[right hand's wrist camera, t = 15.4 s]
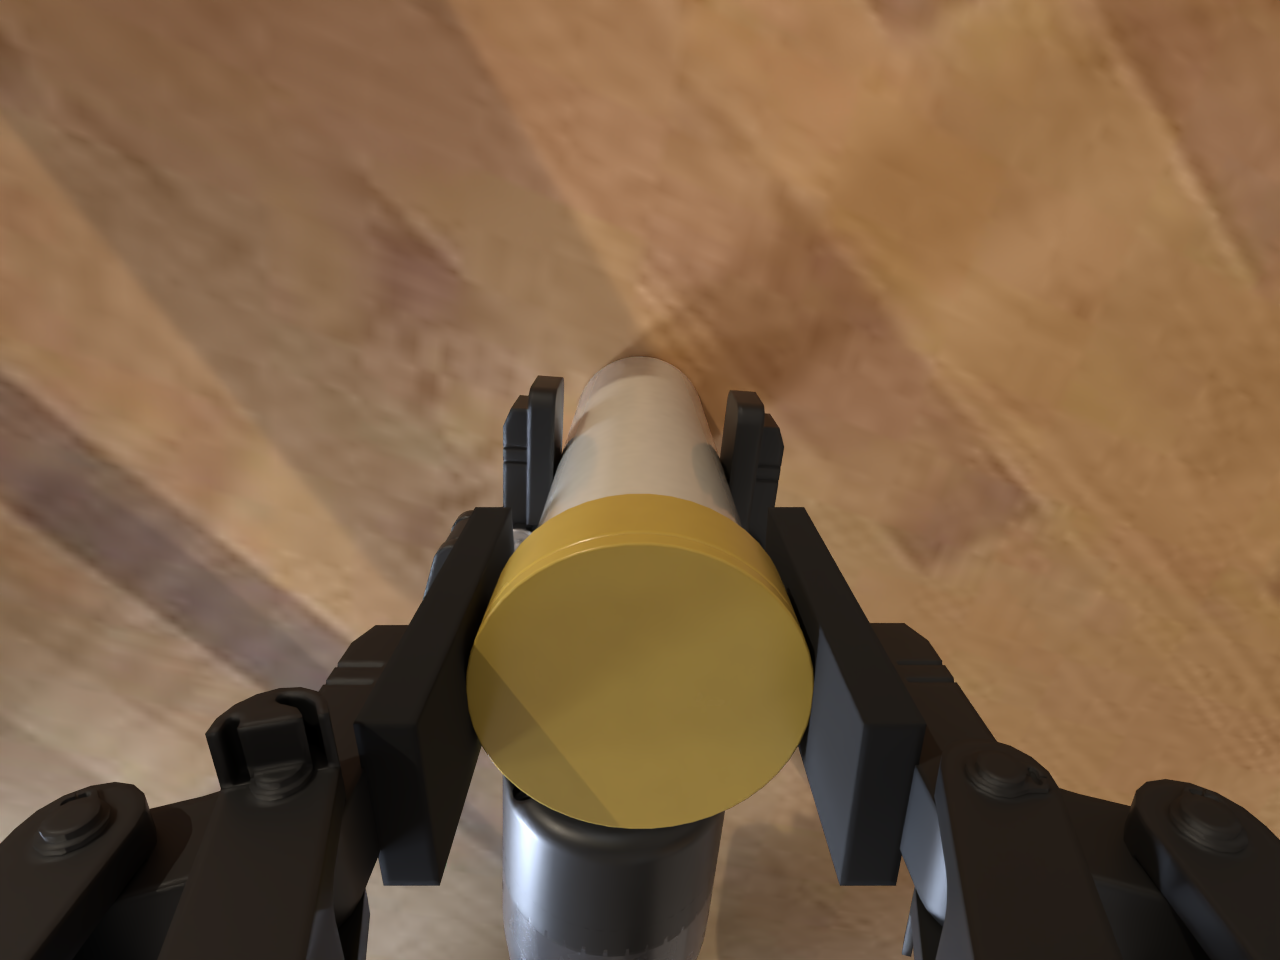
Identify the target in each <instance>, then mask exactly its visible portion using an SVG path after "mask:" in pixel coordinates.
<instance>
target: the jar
mask: <svg viewBox="0 0 1280 960" xmlns="http://www.w3.org/2000/svg"><path fill="white" fill-rule="evenodd" d="M623 494H657V495H665V496H672V497H676V498H681V499H685V500H689V501H692V502H695V503H698V504H700V505H703V506H706V507H708V508H711V509H713V510H714V511H716V512H718V513H720V514H722V515H724V516H726V517H728V518H729V519H731V520H732V521H733V522H735V523H736V524H738V525H739V526H740V527H742V525H741V522H740V519H739V516H738V513H737V510H736V507H735V504H734V501H733V498H732V495H731V491H730V488H729V485H728V482H727V479H726V476H725V473H724V470H723V467H722V464H721V461H720V458H719V455H718V452H717V449H716V446H715V443H714V440H713V437H712V434H711V431H710V428H709V425H708V422H707V419H706V416H705V413H704V410H703V407H702V404H701V401H700V398H699V396H698V393H697V391H696V389H695V387H694V386H693V384H692V383H691V381H690V380H689V379H688V378H687V376H686V375H685V374H683V373H682V372H681V371H680V370H679V369H677V368H676V367H675V366H673V365H671V364H669V363H667V362H665V361H662V360H660V359H656V358H652V357H643V356H638V357H628V358H623V359H620V360H617V361H615V362H613V363H610V364H608V365H607V366H605V367H604V368H602V369H601V370H600V371H599V372H597V373H596V374H595V375H594V376H593V377H592V378H591V380H590V381H589V382H588V384H587V385H586V387H585V389H584V391H583V393H582V395H581V398H580V401H579V404H578V407H577V410H576V413H575V416H574V419H573V422H572V425H571V428H570V431H569V434H568V437H567V440H566V443H565V446H564V449H563V452H562V455H561V458H560V461H559V464H558V467H557V470H556V473H555V476H554V479H553V482H552V485H551V488H550V492H549V495H548V498H547V501H546V504H545V507H544V510H543V513H542V516H541V519H540V522H539V525H538V527H540V526H541V525H543V524H544V523H545V522H547V521H548V520H549V519H551V518H553V517H555V516H556V515H558V514H560V513H562V512H564V511H565V510H567V509H570V508H572V507H575V506H577V505H580V504H582V503H585V502H588V501H592V500H596V499H600V498H603V497H607V496H615V495H623Z"/></svg>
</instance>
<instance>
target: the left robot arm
mask: <svg viewBox="0 0 1280 960" xmlns="http://www.w3.org/2000/svg"><path fill="white" fill-rule="evenodd" d="M563 403H564V378H563V377H551V376H537V378H536V380H535V381H534V383H533V384H532V386H531V388H530V392H529V396H524V395H520V396H519V397H518V399H517V400H516V402H515V403H514V405H513V406H512V408H511V410H510V412H509V414H508V416H507V419H506V421H505V423H504V426H503V446H504V448H503V460H504V463H503V507H511V509H512V523H513V536H514V550H516V549H517V548H518V547H519V545H520V544H521V543H522V542H523V541H524V540H525V539H526V538H527V537H528V536H529V535H530V534H531V533H532V532H533V531H534V530H536V529H537V528H538V525H539V522H540V519H541V516H542V513H543V510H544V507H545V504H546V501H547V498H548V495H549V492H550V488H551V485H552V482H553V479H554V476H555V473H556V470H557V467H558V464H559V461H560V458H561V455H562V434H563ZM783 450H784V445H783V441H782V437H781V433H780V429H779V427H778V425H777V424H776V422H775V421H774V419H773V418H772V416H771V415H770V414H766V413H765V411H764V405H763V403H762V401H761V400H760V398H759V397H758V395H757V394H756V392H748V391H734V390H730V392H729V395H728V399H727V407H726V415H725V423H724V431H723V439H722V447H721V455H720V461H721V464H722V467H723V470H724V473H725V476H726V479H727V482H728V485H729V488H730V491H731V495H732V498H733V501H734V504H735V507H736V510H737V513H738V516H739V519H740V522H741V525H742V528H743V529H745V530H746V531H747V532H748V533H749V534H750V535H751V536H752V537H753V538H754V539H755V540H756V541H757V542H758V543H759V544H760V545H761V547H762V548H763V549H764V550H765V544H766V530H767V517H768V507H775V500H776V494H777V488H778V480H779V475H780V466H781V463H782V457H783ZM473 511H474V510H471V511H466V512H464V513H462V514H461V515H460V516H459V517H458V518H457V520H456V522H455V523H454V525H453V527H452V530H451V533H450V535H449V536H448V538H447V540H446V541H445V542H444V543H443V544H442V545H441V546H440V548H439V550H438V551H437V553H436V555H435V556H434V559H433V563H432V567H431V571H430V574H429V578H428V582H427V586H426V590H425V593H424V597H425V596H426V594H427V592H428V590H429V589H430V587H431V585H432V583H433V581H434V580H435V578H436V576H437V574H438V573H439V571H440V569H441V567H442V566H443V564H444V562H445V560H446V559H447V557H448V555H449V553H450V551H451V550H452V548H453V546H454V544H455V543H456V541H457V539H458V537H459V536H460V534H461V532H462V530H463V528H464V527H465V525H466V523H467V521H468V520H469V518H470V516H471V514H472V513H473ZM424 597H423V599H424ZM724 814H725V811H723V812H720V813H718V814H716V815H714V816H711V817H708V818H705V819H701V820H698V821H695V822H692V823H687V824H682V825H677V826H672V827H662V828H653V829H628V828H618V827H609V826H603V825H598V824H593V823H589V822H585V821H582V820H579V819H575V818H572V817H569V816H567V815H564V814H562V813H560V812H557V811H555V810H552V809H550V808H549V807H547V806H545V805H543V804H541V803H540V802H538V801H536V800H534V799H533V798H531V797H530V796H528V795H527V794H526V793H524V792H523V791H521V790H520V789H519V788H517V787H516V786H515V785H514V784H513V783H512V782H511V781H510V780H509V779H508V778H506V777H505V776H504V775H503V920H504V930H505V936H506V942H507V946H508V950H509V960H697V958H698V955H699V952H700V949H701V946H702V943H703V940H704V935H705V930H706V925H707V920H708V915H709V909H710V902H711V896H712V890H713V883H714V876H715V870H716V864H717V857H718V852H719V845H720V839H721V833H722V826H723V820H724Z"/></svg>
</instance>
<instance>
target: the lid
mask: <svg viewBox="0 0 1280 960" xmlns="http://www.w3.org/2000/svg"><path fill="white" fill-rule="evenodd" d="M813 688H814V669H813V664H812V660H811V655H810V651H809V648H808V645H807V643H806V640H805V638H804V635H803V632H802V630H801V627H800V625H799V622H798V620H797V617H796V615H795V612H794V610H793V607H792V604H791V602H790V599H789V597H788V594H787V592H786V589H785V587H784V584H783V582H782V579H781V577H780V574H779V572H778V570H777V568H776V567H775V565H774V563H773V562H772V560H771V558H770V557H769V555H768V554H767V553H766V552H765V550H764V549H763V548H762V547H761V545H760V544H759V543H758V542H757V541H756V540H755V539H754V538H753V537H752V536H751V535H750V534H749V533H748V532H747V531H746V530H745V529H743V528H742V527H740V526H739V525H738V524H736V523H735V522H733V521H732V520H731V519H729V518H728V517H726V516H724V515H722V514H720V513H718V512H716V511H714V510H713V509H711V508H708V507H706V506H703V505H700V504H698V503H695V502H692V501H689V500H685V499H681V498H676V497H672V496H665V495H657V494H623V495H615V496H607V497H603V498H600V499H596V500H592V501H588V502H585V503H582V504H580V505H577V506H575V507H572V508H570V509H567V510H565V511H564V512H562V513H560V514H558V515H556V516H555V517H553V518H551V519H549V520H548V521H547V522H545V523H544V524H543V525H541V526H540V527H538V528H537V529H536V530H534V531H533V532H532V533H531V534H530V535H529V536H528V537H527V538H526V539H525V540H524V541H523V542H522V543H521V544H520V545H519V547H518V548H517V549H516V550H515V552H514V553H513V554H512V556H511V557H510V558H509V560H508V562H507V563H506V565H505V567H504V569H503V570H502V572H501V574H500V576H499V579H498V582H497V584H496V587H495V589H494V592H493V594H492V597H491V599H490V602H489V605H488V607H487V610H486V612H485V615H484V617H483V620H482V623H481V625H480V627H479V630H478V633H477V635H476V638H475V641H474V643H473V646H472V649H471V651H470V655H469V660H468V665H467V670H466V692H467V701H468V709H469V714H470V717H471V721H472V725H473V728H474V730H475V732H476V734H477V737H478V739H479V741H480V743H481V745H482V747H483V748H484V750H485V751H486V753H487V755H488V756H489V758H490V759H491V761H492V762H493V763H494V764H495V765H496V767H497V768H498V769H499V770H500V771H501V772H502V774H503V775H504V776H505V777H506V778H508V779H509V780H510V781H511V782H512V783H513V784H514V785H515V786H516V787H517V788H519V789H520V790H521V791H523V792H524V793H526V794H527V795H528V796H530V797H531V798H533V799H534V800H536V801H538V802H540V803H541V804H543V805H545V806H547V807H549V808H550V809H552V810H555V811H557V812H560V813H562V814H564V815H567V816H569V817H572V818H575V819H579V820H582V821H585V822H589V823H593V824H598V825H603V826H609V827H618V828H628V829H653V828H662V827H672V826H677V825H682V824H687V823H692V822H695V821H698V820H701V819H705V818H708V817H711V816H714V815H716V814H718V813H720V812H723V811H725V810H727V809H730V808H732V807H733V806H735V805H737V804H739V803H740V802H742V801H744V800H746V799H747V798H749V797H750V796H752V795H753V794H754V793H756V792H757V791H758V790H760V789H761V788H763V787H764V786H765V785H766V784H767V783H768V782H769V781H770V780H771V779H772V778H774V777H775V776H776V775H777V774H778V773H779V771H780V770H781V769H782V768H783V767H784V765H785V764H786V763H787V762H788V761H789V759H790V758H791V756H792V755H793V753H794V752H795V750H796V748H797V747H798V745H799V743H800V742H801V739H802V737H803V735H804V732H805V730H806V728H807V725H808V722H809V718H810V714H811V706H812V697H813Z"/></svg>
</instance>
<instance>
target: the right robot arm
mask: <svg viewBox="0 0 1280 960" xmlns="http://www.w3.org/2000/svg"><path fill="white" fill-rule="evenodd" d="M514 552H515V550H514V536H513V523H512V509H511V507H475V509H474V511H473V513H472V514H471V516H470V518H469V520H468V521H467V523H466V525H465V527H464V528H463V530H462V532H461V534H460V536H459V537H458V539H457V541H456V543H455V544H454V546H453V548H452V550H451V551H450V553H449V555H448V557H447V559H446V560H445V562H444V564H443V566H442V567H441V569H440V571H439V573H438V574H437V576H436V578H435V580H434V581H433V583H432V585H431V587H430V589H429V590H428V592H427V594H426V596H425V597H424V599H423V601H422V603H421V604H420V606H419V608H418V610H417V612H416V613H415V615H414V617H413V619H412V620H411V622H410V624H409V625H375V626H374V627H373V628H371V629H370V630H369V631H367V632H366V633H364V634H363V635H362V636H360V637H359V638H358V639H356V640H355V641H354V642H352V643H351V645H350V646H349V648H348V649H347V651H346V652H345V653H344V655H343V656H342V658H341V659H340V661H339V662H338V667H335V668H334V670H333V671H332V673H331V674H330V676H329V677H328V679H327V680H326V685H323V686H322V687H321V689H320V690H319V692H317V691H314V690H310V689H306V688H302V687H295V688H279V689H275V690H271V691H267V692H264V693H260V694H256V695H254V696H252V697H250V698H248V699H246V700H244V701H242V702H239V703H237V704H235V705H234V706H232V707H231V708H230V709H228V710H227V711H226V712H224V713H223V714H222V715H221V716H219V717H218V718H217V719H216V720H215V721H214V723H213V724H212V725H211V727H210V728H209V729H208V731H207V732H206V734H205V735H206V738H207V742H208V745H209V749H210V752H211V756H212V759H213V762H214V766H215V769H216V773H217V776H218V780H219V783H220V787H221V791H219V792H215V793H212V794H209V795H206V796H202V797H198V798H194V799H190V800H186V801H181V802H177V803H173V804H169V805H165V806H160V807H156V808H152V809H149V806H148V803H147V800H146V798H145V795H144V793H143V792H142V791H140V790H139V789H138V788H137V787H136V786H135V785H132V784H125V783H118V782H112V783H106V784H100V785H93V786H89V787H86V788H84V789H81V790H78V791H75V792H73V793H70V794H67V795H64V796H62V797H61V798H59V799H57V800H55V801H54V802H52V803H50V804H48V805H46V806H45V807H43V808H41V809H39V810H38V811H36V812H35V813H34V814H33V815H31V816H30V817H29V818H28V819H26V820H25V821H24V822H23V823H22V824H20V825H19V826H18V827H17V828H16V829H14V830H13V831H12V832H11V833H10V834H9V835H8V836H7V837H6V839H5V840H4V841H3V842H2V843H1V844H0V960H366V952H367V941H368V930H369V919H370V911H369V905H368V898H367V893H366V885H367V883H368V880H369V878H370V875H371V873H372V870H373V868H374V866H375V863H376V861H377V858H379V863H380V869H381V874H382V879H383V884H384V886H440V883H441V879H442V876H443V873H444V869H445V866H446V863H447V859H448V856H449V853H450V849H451V846H452V843H453V839H454V836H455V833H456V829H457V826H458V823H459V819H460V816H461V813H462V809H463V806H464V803H465V799H466V796H467V792H468V789H469V786H470V782H471V779H472V776H473V772H474V769H475V766H476V762H477V759H478V756H479V752H480V749H481V746H482V745H481V743H480V741H479V739H478V737H477V734H476V732H475V730H474V728H473V725H472V721H471V717H470V714H469V709H468V701H467V692H466V670H467V665H468V660H469V655H470V651H471V649H472V646H473V643H474V641H475V638H476V635H477V633H478V630H479V627H480V625H481V623H482V620H483V617H484V615H485V612H486V610H487V607H488V605H489V602H490V599H491V597H492V594H493V592H494V589H495V587H496V584H497V582H498V579H499V576H500V574H501V572H502V570H503V569H504V567H505V565H506V563H507V562H508V560H509V558H510V557H511V556H512V554H513V553H514ZM765 552H766V553H767V554H768V555H769V557H770V558H771V560H772V562H773V563H774V565H775V567H776V568H777V570H778V572H779V574H780V577H781V579H782V582H783V584H784V587H785V589H786V592H787V594H788V597H789V599H790V602H791V604H792V607H793V610H794V612H795V615H796V617H797V620H798V622H799V625H800V627H801V630H802V632H803V635H804V638H805V640H806V643H807V645H808V648H809V651H810V655H811V660H812V664H813V669H814V688H813V697H812V706H811V714H810V718H809V722H808V725H807V728H806V730H805V732H804V735H803V737H802V739H801V742H800V743H799V745H798V747H799V750H800V754H801V757H802V760H803V764H804V767H805V770H806V774H807V777H808V781H809V784H810V787H811V791H812V794H813V797H814V801H815V804H816V807H817V811H818V814H819V817H820V821H821V824H822V827H823V831H824V834H825V837H826V841H827V844H828V847H829V851H830V854H831V857H832V861H833V864H834V867H835V871H836V874H837V877H838V881H839V884H840V886H896V882H897V877H898V872H899V866H900V861H901V856H903V858H904V861H905V863H906V866H907V868H908V870H909V873H910V875H911V878H912V880H913V883H914V885H915V888H914V893H913V898H912V903H911V908H910V913H909V918H908V922H907V927H906V932H905V937H904V943H903V950H902V955H906V956H910V957H911V954H912V949H913V950H914V960H1280V840H1279V839H1278V838H1277V837H1276V836H1275V835H1274V834H1273V833H1272V832H1271V831H1270V830H1269V829H1268V828H1267V827H1266V826H1265V825H1264V824H1263V823H1262V822H1260V821H1259V820H1258V819H1257V818H1255V817H1254V816H1253V815H1252V814H1251V813H1249V812H1248V811H1247V810H1246V809H1244V808H1243V807H1241V806H1239V805H1238V804H1236V803H1234V802H1232V801H1231V800H1229V799H1227V798H1225V797H1223V796H1222V795H1220V794H1218V793H1216V792H1213V791H1210V790H1208V789H1205V788H1202V787H1199V786H1197V785H1194V784H1191V783H1187V782H1180V781H1174V780H1167V779H1163V780H1156V781H1149V782H1146V783H1145V784H1144V785H1142V786H1141V787H1140V788H1139V789H1138V790H1136V793H1135V796H1134V799H1133V802H1132V805H1131V806H1127V805H1123V804H1119V803H1115V802H1110V801H1106V800H1102V799H1098V798H1093V797H1089V796H1085V795H1081V794H1077V793H1074V792H1070V791H1067V790H1064V789H1061V788H1059V787H1058V786H1057V784H1056V783H1055V781H1054V779H1053V778H1052V776H1051V775H1050V773H1049V772H1048V771H1047V770H1046V769H1045V768H1044V767H1043V766H1041V765H1040V764H1039V763H1038V762H1037V761H1036V760H1034V759H1033V758H1032V757H1031V756H1029V755H1027V754H1025V753H1023V752H1021V751H1019V750H1017V749H1016V748H1014V747H1012V746H1009V745H1006V744H1003V743H999V742H997V741H996V740H995V738H994V737H993V735H992V734H991V732H990V731H989V729H988V728H987V726H986V725H985V723H984V722H983V720H982V719H981V717H980V716H979V715H978V713H977V712H976V710H975V709H974V707H973V706H972V704H971V703H970V701H969V700H968V698H967V697H966V695H965V694H964V693H963V691H962V690H961V688H960V687H959V685H958V684H957V682H954V678H953V676H952V675H951V673H950V672H949V670H948V669H947V668H946V666H945V665H942V660H941V659H940V657H939V656H938V654H937V653H936V651H935V650H934V648H933V647H932V646H931V644H930V643H929V641H928V640H927V639H925V638H924V637H922V636H921V635H920V634H918V633H917V632H916V631H914V630H913V629H912V628H910V627H909V626H907V625H906V624H905V623H869V621H868V619H867V618H866V616H865V614H864V612H863V611H862V609H861V607H860V605H859V603H858V602H857V600H856V598H855V596H854V595H853V593H852V591H851V589H850V588H849V586H848V584H847V582H846V581H845V579H844V577H843V575H842V573H841V572H840V570H839V568H838V566H837V565H836V563H835V561H834V559H833V558H832V556H831V554H830V552H829V550H828V549H827V547H826V545H825V543H824V542H823V540H822V538H821V536H820V535H819V533H818V531H817V529H816V527H815V526H814V524H813V522H812V520H811V519H810V517H809V515H808V513H807V512H806V510H805V508H804V507H768V517H767V530H766V544H765Z"/></svg>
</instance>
